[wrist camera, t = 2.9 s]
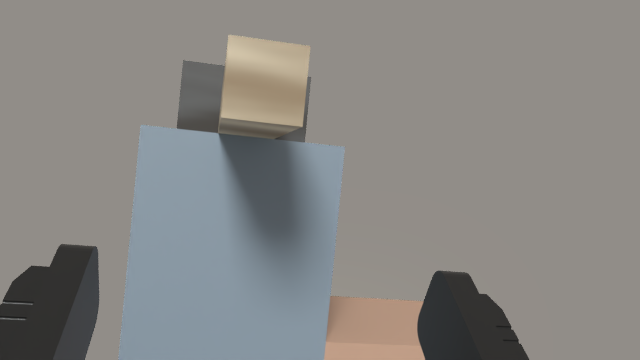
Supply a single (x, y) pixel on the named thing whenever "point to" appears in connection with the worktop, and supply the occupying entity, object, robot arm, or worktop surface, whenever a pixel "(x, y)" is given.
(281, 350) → the step stand
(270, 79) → the mallet
